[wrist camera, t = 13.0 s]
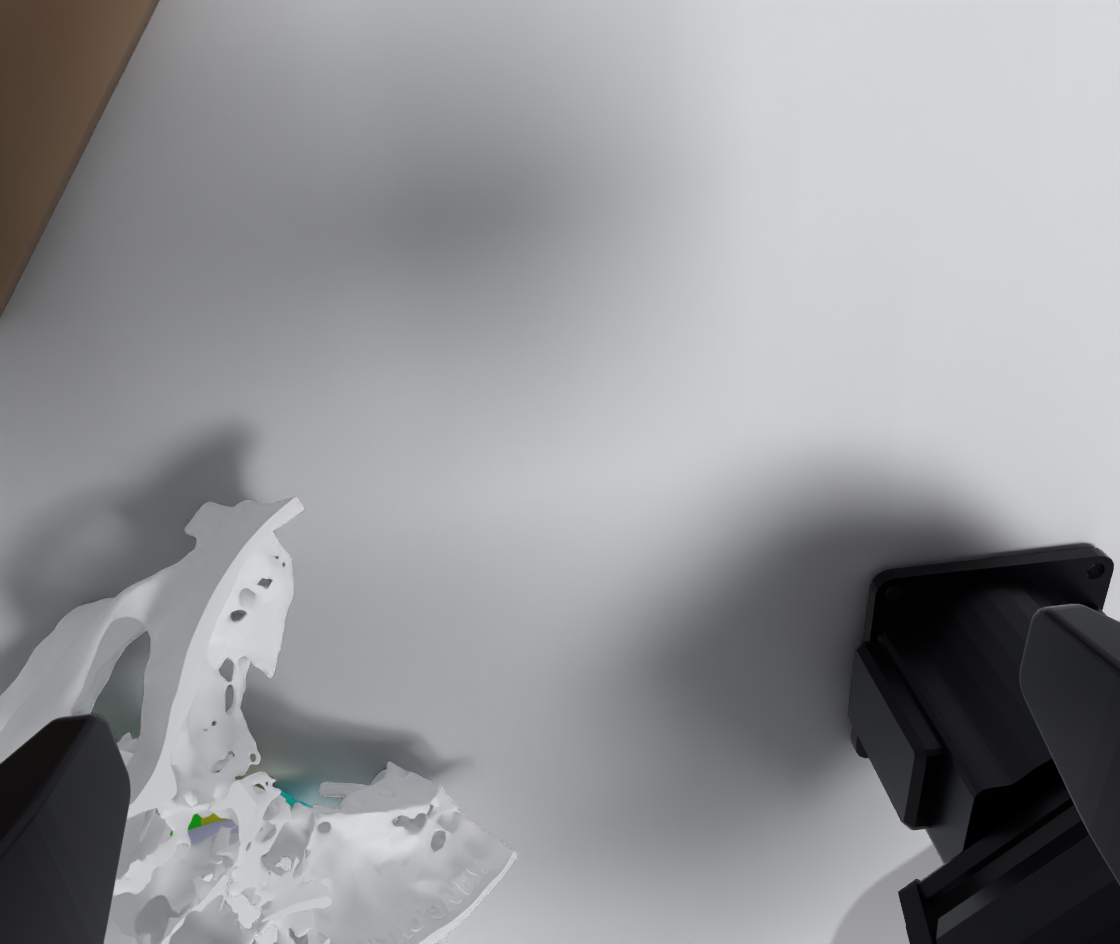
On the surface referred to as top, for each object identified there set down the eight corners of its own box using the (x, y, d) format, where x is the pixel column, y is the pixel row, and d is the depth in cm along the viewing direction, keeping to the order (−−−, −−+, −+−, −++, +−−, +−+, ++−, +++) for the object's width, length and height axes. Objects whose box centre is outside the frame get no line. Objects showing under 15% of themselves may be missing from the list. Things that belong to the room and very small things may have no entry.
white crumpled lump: (-264, 704, 20) (-142, 868, 14) (88, 456, 25) (295, 495, 19) (76, 998, 26) (268, 1205, 20) (306, 751, 31) (518, 855, 25)
